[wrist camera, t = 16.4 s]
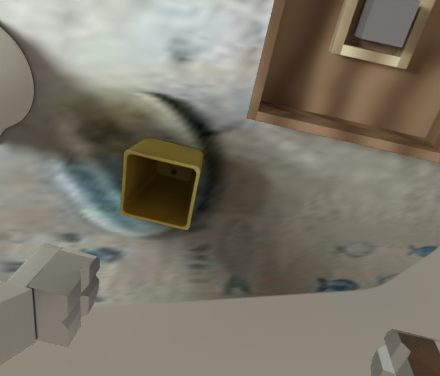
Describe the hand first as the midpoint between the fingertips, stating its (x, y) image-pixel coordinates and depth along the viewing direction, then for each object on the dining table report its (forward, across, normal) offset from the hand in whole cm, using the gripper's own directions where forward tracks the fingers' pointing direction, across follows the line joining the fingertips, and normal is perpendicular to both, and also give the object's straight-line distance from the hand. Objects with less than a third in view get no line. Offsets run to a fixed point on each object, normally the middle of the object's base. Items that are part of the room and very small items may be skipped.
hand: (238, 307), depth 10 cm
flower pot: (+37, +9, +14) cm, 41 cm away
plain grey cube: (+36, -10, -8) cm, 38 cm away
